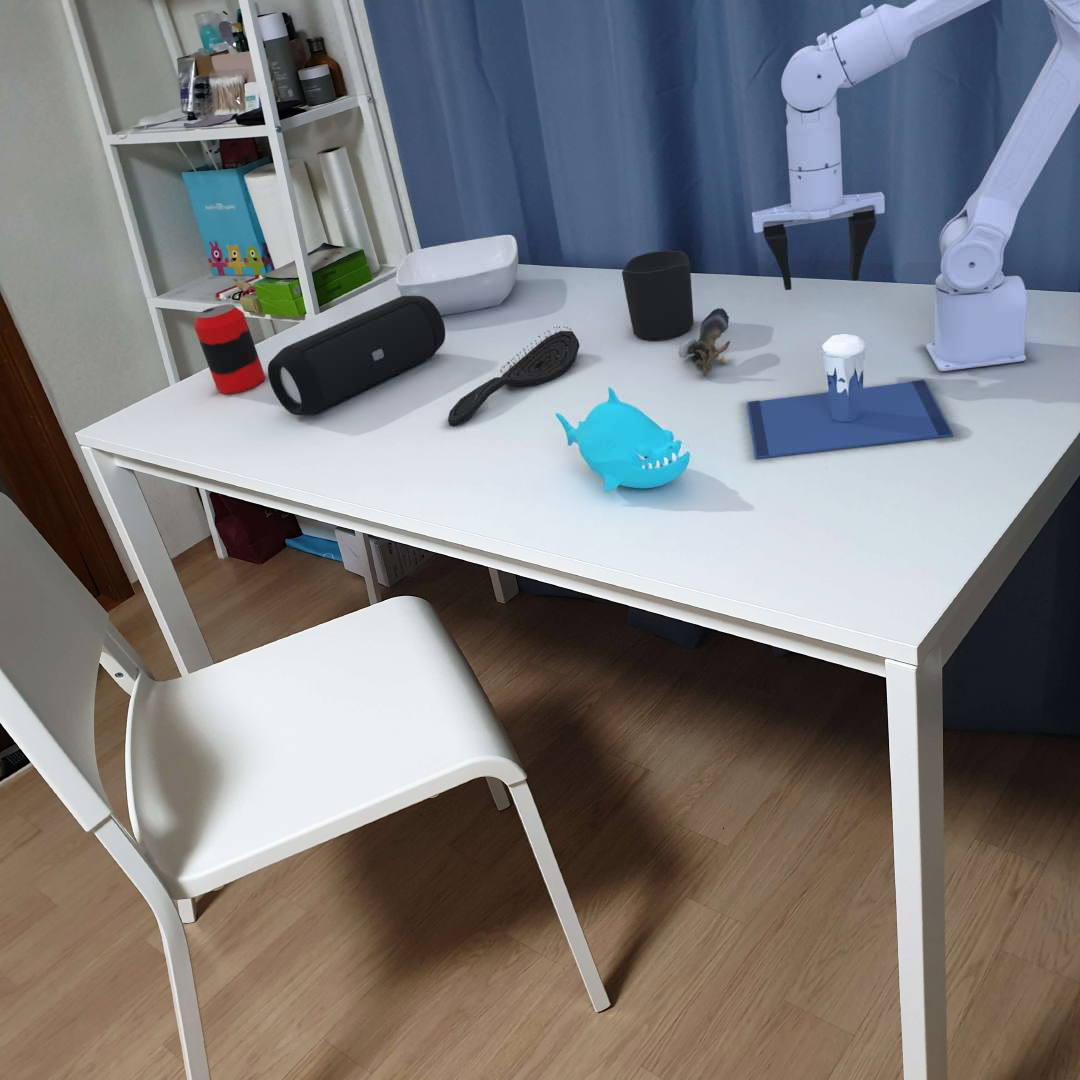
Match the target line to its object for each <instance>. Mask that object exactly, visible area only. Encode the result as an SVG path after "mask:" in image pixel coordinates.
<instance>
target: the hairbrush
mask: <svg viewBox="0 0 1080 1080" xmlns="http://www.w3.org/2000/svg"><path fill="white" fill-rule="evenodd" d="M562 327H563V328H564V329H565V330H561V327H560V326H559V325H558V326H556V327H555V326H553V329H555V328H556V329H557V330H558V331H556V329H555V331H554V333H553V334H551V330H547V331H546V332H547V333H548V335H546V333H545V332H543V334H544V335H545V336H544V339H543V340H540V342H539V341H538V342H537V340H536V339H535V340H534V342H535V345H536V346H535V347H533V346H531V347H530V349H528V352H526V349H525V348H522V350H523V351H524V355H522V354H521V353H522V352H521V351H519V353H520V354H521V357H520V355H519V354H518V353H516V356H517V357H518V361H517V360H515V362H513V361H514V359H515V356H512V359H510V361H507V363H505V365H503V366H501V368H500V373H501V374H502V375H501V376H500V377H493V378H491V379H489V380H487V381H486V382H484V383H483V384H481V385H479V386H478V387H476V388H474V389H473V390H471V391H470V392H469V393H466V395H464V396H463V397H461V398H460V399H458V401H457V402H456V404H455V405H454V406H453V407H452V408H451V409H450V410H449V413H448V417H447V421H448V425H449V426H452V427H457V426H459V425H460V424H462V423H464V422H466V421H467V420H470V418H471V417H472V416H473V415H474V414H476V412H477V411H478V410H479V409H480V408H481V407H482V406H483V404H484V403H485V402H486V401H487V400H488V398H489V397H490V396H491V395H493V394H494V393H495V392H497V391H498V390H500V389H501V388H503V387H504V386H507V385H509V386H531V385H532V386H533V385H539V384H543V383H546V382H550V381H553V380H555V379H557V378H559V377H560V376H562V375H563V374H565V373H567V371H568V370H569V369H570V368H571V366H573V364H574V363H575V362H576V359H577V355H578V352H579V349H580V346H581V345H580V342H579V339H578V337H577V336H576V334H575V333H574V331H573V330H572V328H569V327H568V326H562ZM559 329H560V330H559ZM567 329H568V330H567ZM537 337H538V338H541V336H540V334H539V335H538V336H537ZM530 344H531V345H533V343H532V342H530ZM526 348H529V345H527V346H526ZM510 362H512V364H513V365H512V364H511V363H510ZM508 366H509V367H508ZM506 367H508V370H506ZM503 369H504V370H503Z"/></svg>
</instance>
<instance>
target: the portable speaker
mask: <svg viewBox="0 0 1080 1080" xmlns="http://www.w3.org/2000/svg"><path fill="white" fill-rule="evenodd" d="M445 340H446V327H445V322H444V319H443V317H442V316H441V315H440V313H439V311H438V309H437V308H436V307H435V305H434V304H433V303H432V302H431V301H430V300H429V299H427V298H425V297H423V296H401V295H400V296H399V297H396V298H394V299H391V300H390V301H389V300H388V301H387V302H385V303H383V304H380V305H378V306H376V307H373V308H371V309H368V310H365V311H364V312H362V313H360V314H357V315H355V316H353V317H350V318H348V319H346V320H343V321H342V322H339V323H336V324H334V325H333V326H330V327H327V328H325V329H322V330H320V331H319V332H316V333H314V334H311V335H310V336H307V337H304V338H302V339H300V340H298V341H296V342H293V343H291V344H289V345H287V346H285V347H283V348H282V349H281V350H279V352H278V353H277V354H276V355H274V357H273V358H272V359H270V361H269V363H268V364H267V376H268V381H269V383H270V384H269V385H270V386H271V389H272V390H273V394H274V395H275V397H276V398H277V400H278V401H279V403H280V404H281V406H282V407H283V408H284V409H285V410H286V411H287V412H289V413H290V414H291V415H294V416H306V415H308V416H309V415H318V414H321V413H323V412H325V411H328V410H330V409H331V408H333V407H336V406H338V405H340V404H341V403H344V402H346V401H348V400H350V399H352V398H355V397H356V396H358V395H361V394H363V393H364V392H366V391H368V390H371V389H372V388H375V387H376V386H378V385H381V384H383V383H386V382H387V381H389V380H391V379H393V378H395V377H397V376H399V375H401V374H403V373H405V372H407V371H409V370H411V369H413V368H415V367H417V366H419V365H421V364H423V363H425V362H426V361H427V360H429V359H431V358H433V356H435V355H436V353H437V352H438V351H439V349H441V347H442V346H443V344H444V343H445Z"/></svg>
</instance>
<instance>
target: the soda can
mask: <svg viewBox="0 0 1080 1080" xmlns="http://www.w3.org/2000/svg"><path fill="white" fill-rule="evenodd" d="M248 324H249V323H248V321H247V318H246V315H245V313H244V311H242V310H241V309H239V308H238V307H236V306H235V305H234V304H230V303H229V304H220V305H216V306H212V307H209V308H207V309H204V310H202V311H201V312H199V313H198V314H197V316H196V320H195V323H194V325H193V328H194V331H195V333H196V336H197V339H198V341H199V344H200V346H201V349H202V352H203V355H204V358H205V361H206V363H207V367H208V369H209V371H210V375H211V377H212V379H213V382H214V384H215V388H216V390H217V391H218V392H220V393H222V394H223V395H224V394H225V395H234V394H239V393H243V392H246V391H249V390H252V389H254V388H256V387H258V386H260V385H261V384H262V383H263V382H264V380H265V378H266V374H265V372H264V369H263V366H262V363H261V359H260V357H259V353H258V351H257V348H256V345H255V342H254V340H253V337H252V334H251V329H250V328H249V325H248Z"/></svg>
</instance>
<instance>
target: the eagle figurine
mask: <svg viewBox="0 0 1080 1080" xmlns="http://www.w3.org/2000/svg"><path fill="white" fill-rule="evenodd" d="M729 318H730V316H729V315H728V313H727V311H726V310H725V309H724V308H715V309H713V310H712V311H711V312H710V313H709V314H708V315H707V316H706V317H705V318H704V319H703V320H702V322H701V323H700V330H699V337H698V340H696V339H695V338H694V337H691V338H689V339H687V340H686V341H684V343H682V344H681V345H680V346H679V348H678V352H677V353H678V356H679V358H681V359H682V358H687V356H690V355H694V356H696V357H697V359H698V360H695V361H694V364H696V365H699V364H701V365H702V367H703V371H702V372H703V374H702V375H703V377H707V374H708V373H709V371H711V368H712V365H713V363H714V361H718V362H722V363H724V364H727V361H726V359H725V356H724V355H723V354H722V353H723V352H725V351H726V350H727V349H729V346H730V344H731V340H727V341H726V342H725V344H724V345H722V346H721V347H720V348H718V349H717V346H716V341H717V340H718V339H720V338H721V337H722V335H723V334H724V333H725V332H727V330H728V329H729V323H730V321H729V320H730V319H729Z"/></svg>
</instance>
